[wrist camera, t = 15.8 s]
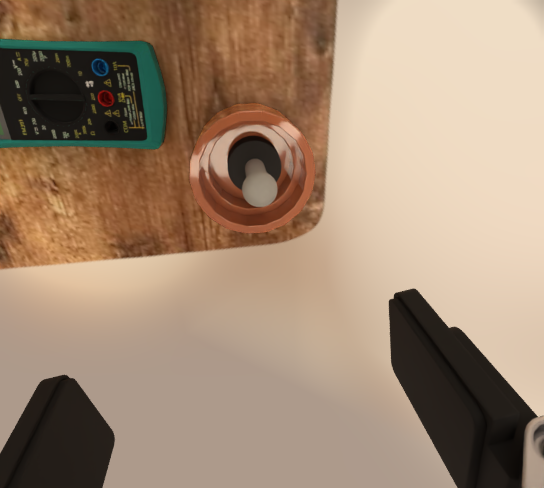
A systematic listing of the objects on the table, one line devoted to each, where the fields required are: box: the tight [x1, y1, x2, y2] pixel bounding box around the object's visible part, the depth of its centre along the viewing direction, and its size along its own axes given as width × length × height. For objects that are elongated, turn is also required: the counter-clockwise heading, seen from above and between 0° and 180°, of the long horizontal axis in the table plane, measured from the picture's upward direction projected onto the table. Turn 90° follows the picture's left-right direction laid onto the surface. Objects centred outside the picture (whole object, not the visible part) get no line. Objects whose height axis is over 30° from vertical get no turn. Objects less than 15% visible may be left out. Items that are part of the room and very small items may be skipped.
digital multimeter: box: [0, 39, 167, 149], centre depth 25 cm, size 7×15×3 cm, turn 88°
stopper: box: [228, 136, 281, 207], centre depth 26 cm, size 4×4×8 cm
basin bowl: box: [189, 103, 316, 233], centre depth 28 cm, size 9×10×5 cm
